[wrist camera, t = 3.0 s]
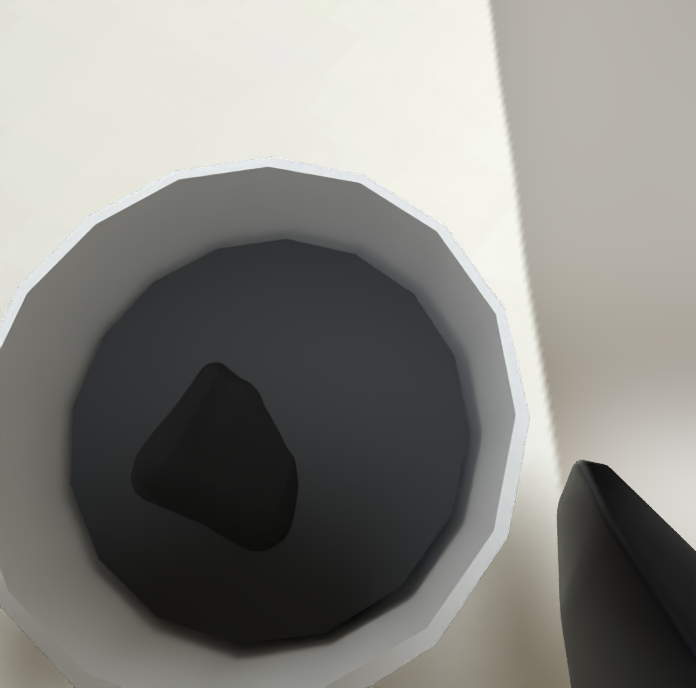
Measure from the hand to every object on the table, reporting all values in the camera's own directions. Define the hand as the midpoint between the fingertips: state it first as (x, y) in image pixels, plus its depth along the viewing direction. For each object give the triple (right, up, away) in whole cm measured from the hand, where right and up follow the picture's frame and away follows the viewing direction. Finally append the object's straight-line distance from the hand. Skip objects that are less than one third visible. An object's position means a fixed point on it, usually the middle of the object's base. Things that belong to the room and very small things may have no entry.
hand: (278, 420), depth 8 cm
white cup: (+1, -3, +8) cm, 8 cm away
